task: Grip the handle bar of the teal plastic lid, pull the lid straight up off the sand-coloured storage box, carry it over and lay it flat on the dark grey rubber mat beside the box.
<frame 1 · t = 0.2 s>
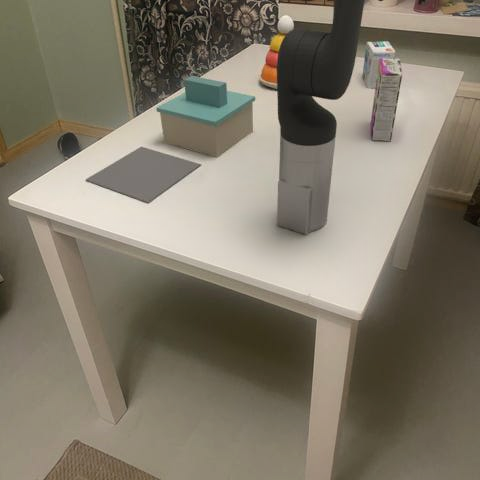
hand: (400, 2, 101), 29 cm above the table, tool pointing down, fingers open, 8 cm apart
stacking toy: (282, 84, 147), on the table
candy bar box: (379, 132, 117), on the table
storage box: (209, 136, 118), on the table
rubber mat: (144, 172, 104), on the table
lid: (206, 105, 113), point 8 cm above the table, touching storage box
light bulb box: (375, 83, 145), on the table
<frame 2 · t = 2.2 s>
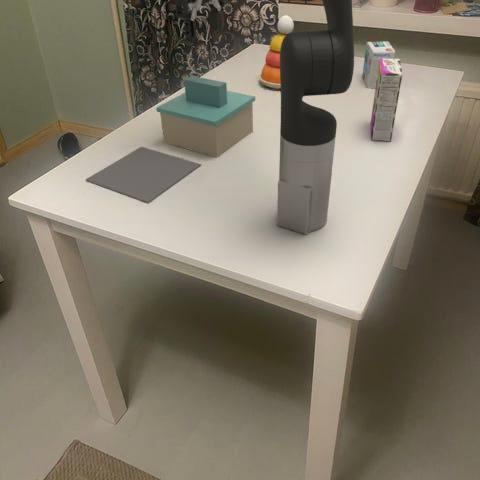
hand: (203, 33, 103), 24 cm above the table, tool pointing down, fingers open, 8 cm apart
nothing on the table moved.
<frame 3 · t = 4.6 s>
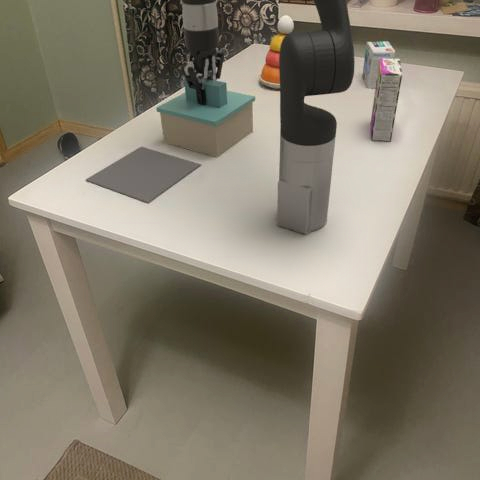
hand: (206, 101, 112), 9 cm above the table, tool pointing down, fingers closed on lid, 3 cm apart
lid: (206, 105, 113), point 8 cm above the table, touching gripper, storage box
everything else where it was.
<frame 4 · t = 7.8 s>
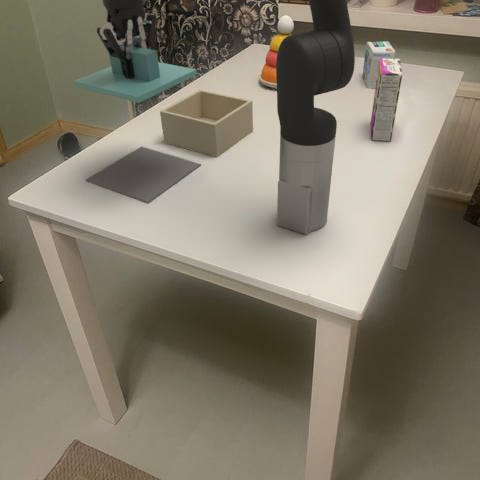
hand: (136, 74, 93), 21 cm above the table, tool pointing down, fingers closed on lid, 3 cm apart
lid: (136, 80, 94), point 20 cm above the table, touching gripper
everything else where it was.
when the fingers open (4 cm above the table, at t = 10.6 s): lid drops 2 cm, resting on rubber mat.
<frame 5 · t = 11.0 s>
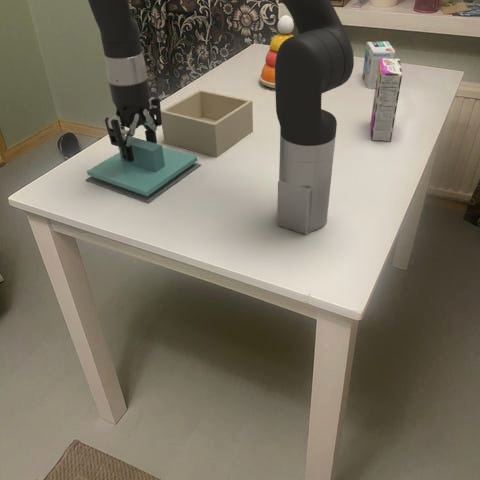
hand: (141, 153, 102), 5 cm above the table, tool pointing down, fingers open, 6 cm apart
lid: (143, 167, 104), point 1 cm above the table, touching rubber mat
everything else where it was.
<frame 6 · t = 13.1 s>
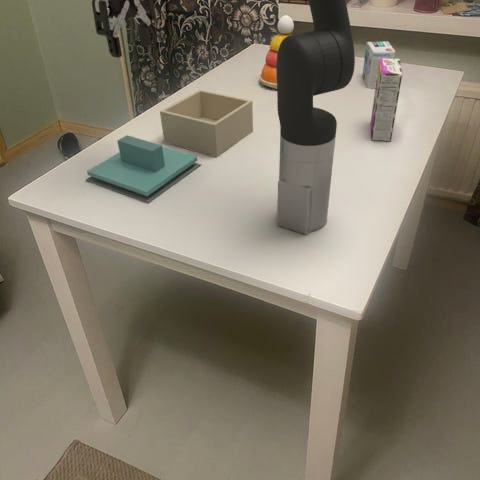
hand: (131, 50, 94), 25 cm above the table, tool pointing down, fingers open, 8 cm apart
nothing on the table moved.
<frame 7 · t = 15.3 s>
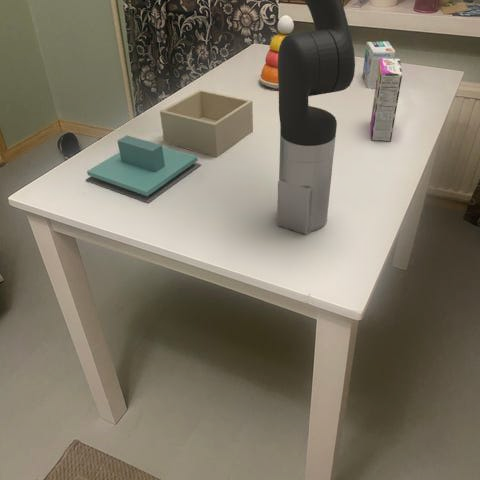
hand: (156, 0, 105), 30 cm above the table, tool pointing down, fingers open, 8 cm apart
nothing on the table moved.
at the end: lid inside the target area on the rubber mat (0.0 cm from its centre), point 1.3 cm above the rubber mat's base; lid tilted 0°; the gripper is holding nothing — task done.
